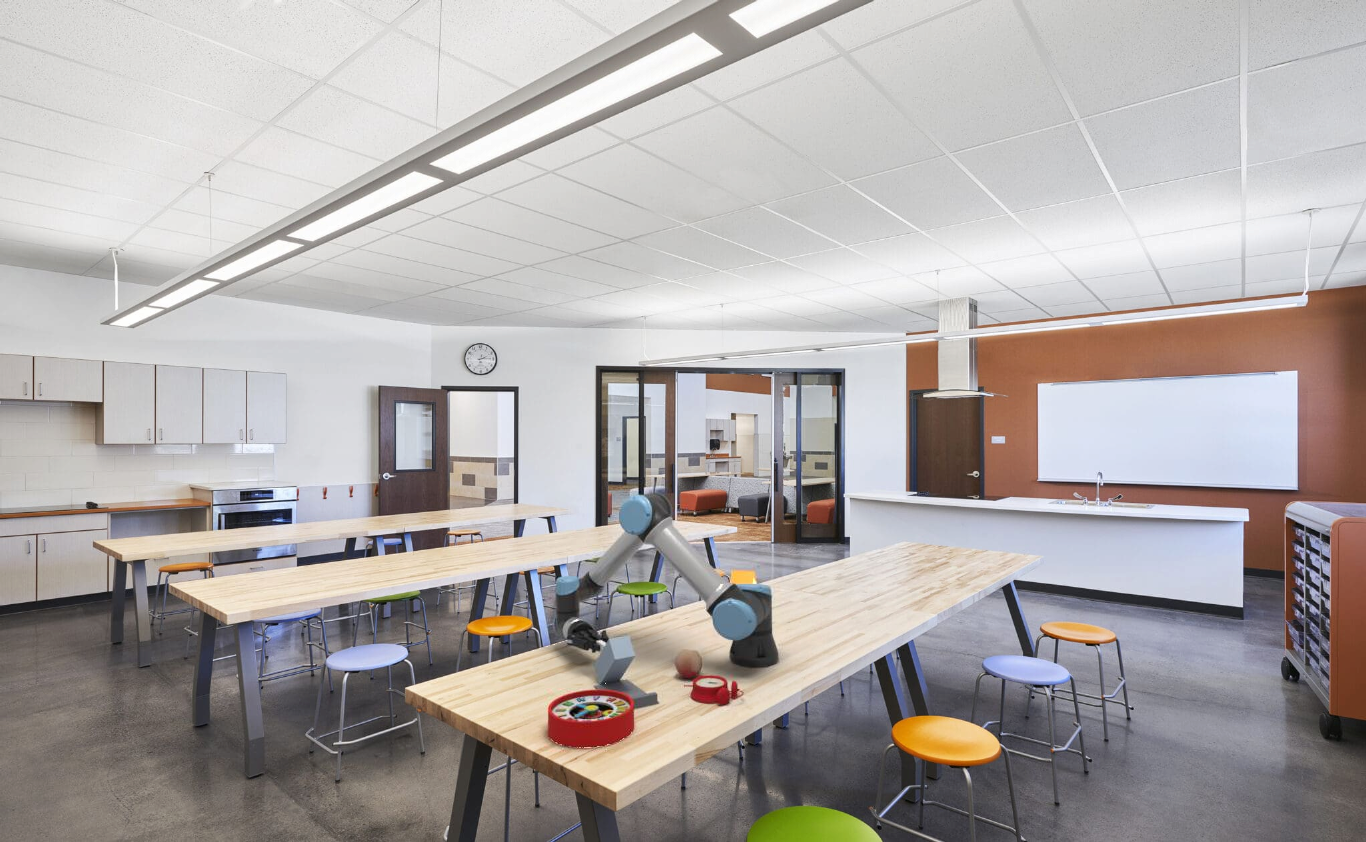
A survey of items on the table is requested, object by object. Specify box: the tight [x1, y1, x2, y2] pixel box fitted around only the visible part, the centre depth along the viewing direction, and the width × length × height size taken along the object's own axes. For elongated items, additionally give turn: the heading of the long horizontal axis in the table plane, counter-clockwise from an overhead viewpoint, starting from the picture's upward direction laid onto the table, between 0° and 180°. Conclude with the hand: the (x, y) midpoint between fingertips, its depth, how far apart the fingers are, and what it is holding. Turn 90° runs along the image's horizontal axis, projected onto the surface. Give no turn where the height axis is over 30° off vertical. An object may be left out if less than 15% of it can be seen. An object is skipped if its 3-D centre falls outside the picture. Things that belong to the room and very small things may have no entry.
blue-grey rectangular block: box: [594, 635, 636, 685], centre depth 182 cm, size 6×6×15 cm
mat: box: [593, 679, 660, 710], centre depth 175 cm, size 20×10×2 cm, turn 29°
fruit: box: [674, 648, 703, 680], centre depth 189 cm, size 8×8×8 cm
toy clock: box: [547, 689, 635, 749], centre depth 154 cm, size 20×6×20 cm
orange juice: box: [729, 569, 758, 584], centre depth 244 cm, size 8×9×20 cm
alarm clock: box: [683, 674, 745, 706], centre depth 173 cm, size 10×6×15 cm
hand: (607, 650), depth 186 cm, fingers closed
